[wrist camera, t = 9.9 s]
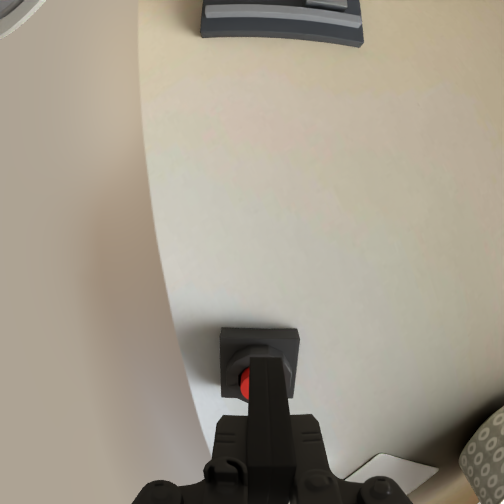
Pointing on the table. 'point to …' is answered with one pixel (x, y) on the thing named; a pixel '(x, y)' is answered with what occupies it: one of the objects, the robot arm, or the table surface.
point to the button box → (255, 355)
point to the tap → (326, 5)
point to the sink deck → (281, 21)
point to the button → (245, 383)
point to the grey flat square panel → (394, 471)
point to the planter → (486, 460)
